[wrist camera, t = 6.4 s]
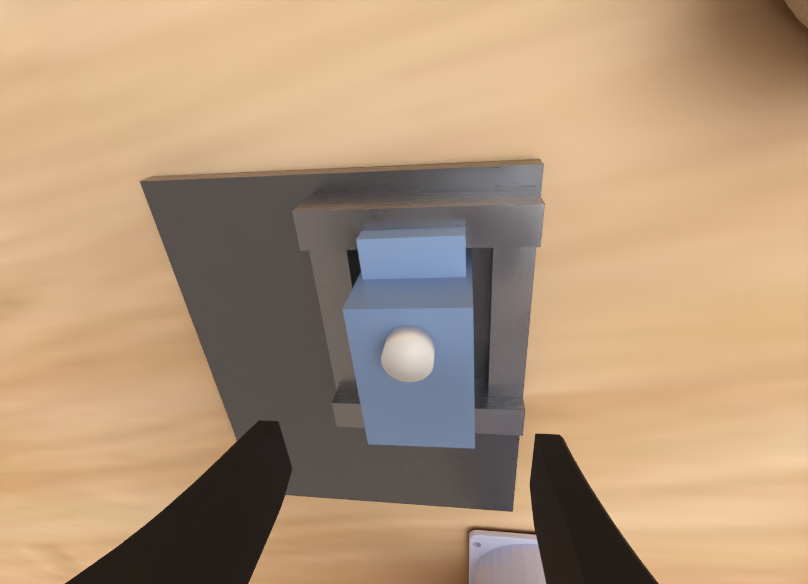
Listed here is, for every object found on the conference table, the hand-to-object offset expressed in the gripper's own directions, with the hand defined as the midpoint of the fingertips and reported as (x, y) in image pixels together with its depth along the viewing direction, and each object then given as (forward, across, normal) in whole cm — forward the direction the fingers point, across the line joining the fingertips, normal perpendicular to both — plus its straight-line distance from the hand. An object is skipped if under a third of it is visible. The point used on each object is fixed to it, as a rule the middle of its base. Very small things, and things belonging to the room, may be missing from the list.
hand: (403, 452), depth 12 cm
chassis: (+8, +4, +4) cm, 10 cm away
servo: (+8, 0, 0) cm, 8 cm away
